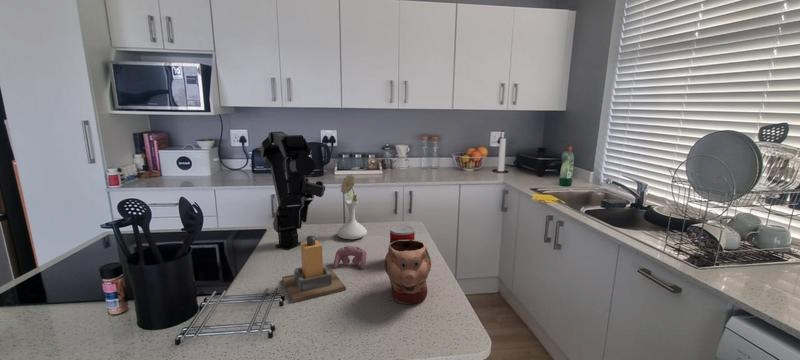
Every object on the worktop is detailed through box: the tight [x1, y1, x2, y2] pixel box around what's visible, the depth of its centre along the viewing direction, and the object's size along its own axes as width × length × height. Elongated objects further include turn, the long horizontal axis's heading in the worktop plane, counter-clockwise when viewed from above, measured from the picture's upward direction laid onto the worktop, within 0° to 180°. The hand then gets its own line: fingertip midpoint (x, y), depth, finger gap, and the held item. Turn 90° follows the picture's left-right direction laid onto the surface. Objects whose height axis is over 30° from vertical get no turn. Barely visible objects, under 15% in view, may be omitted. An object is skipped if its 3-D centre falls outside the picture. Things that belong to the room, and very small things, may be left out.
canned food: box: [389, 224, 416, 245], centre depth 115 cm, size 8×8×11 cm
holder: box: [281, 263, 347, 304], centre depth 100 cm, size 14×14×4 cm
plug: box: [300, 235, 324, 279], centre depth 99 cm, size 5×5×13 cm
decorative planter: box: [384, 239, 432, 304], centre depth 95 cm, size 20×12×14 cm, turn 8°
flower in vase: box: [336, 173, 368, 240], centre depth 135 cm, size 13×11×25 cm
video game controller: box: [333, 245, 367, 270], centre depth 113 cm, size 10×5×7 cm, turn 85°
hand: (301, 224), depth 114 cm, fingers open, 9 cm apart
